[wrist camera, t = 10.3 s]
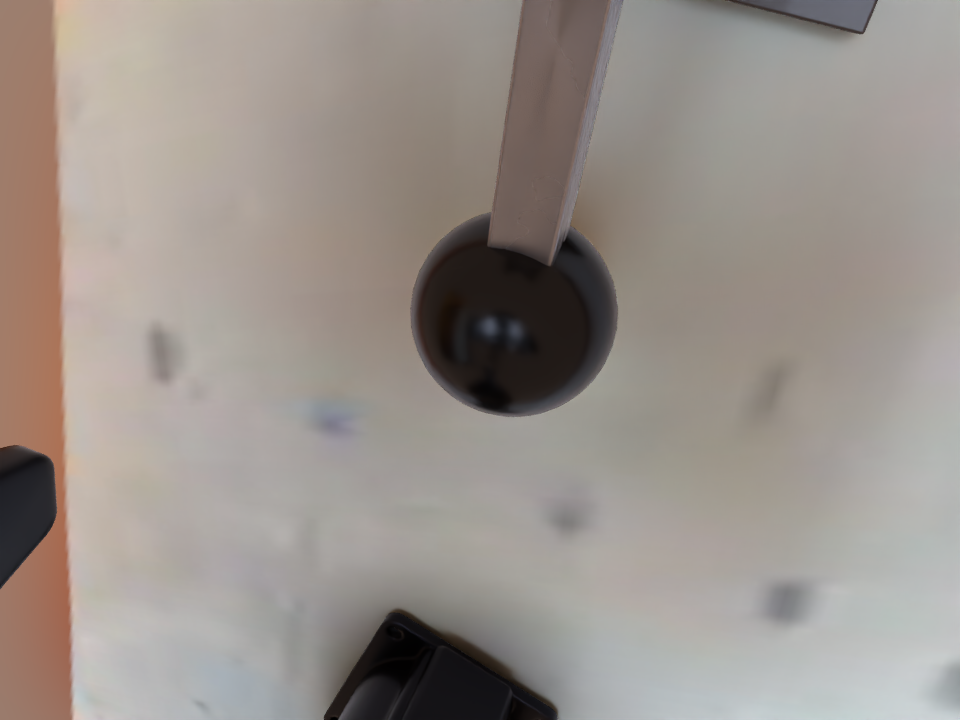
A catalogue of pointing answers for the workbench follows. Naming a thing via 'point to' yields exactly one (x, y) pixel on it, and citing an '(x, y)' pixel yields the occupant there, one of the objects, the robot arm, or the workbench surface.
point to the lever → (528, 236)
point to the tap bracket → (821, 11)
